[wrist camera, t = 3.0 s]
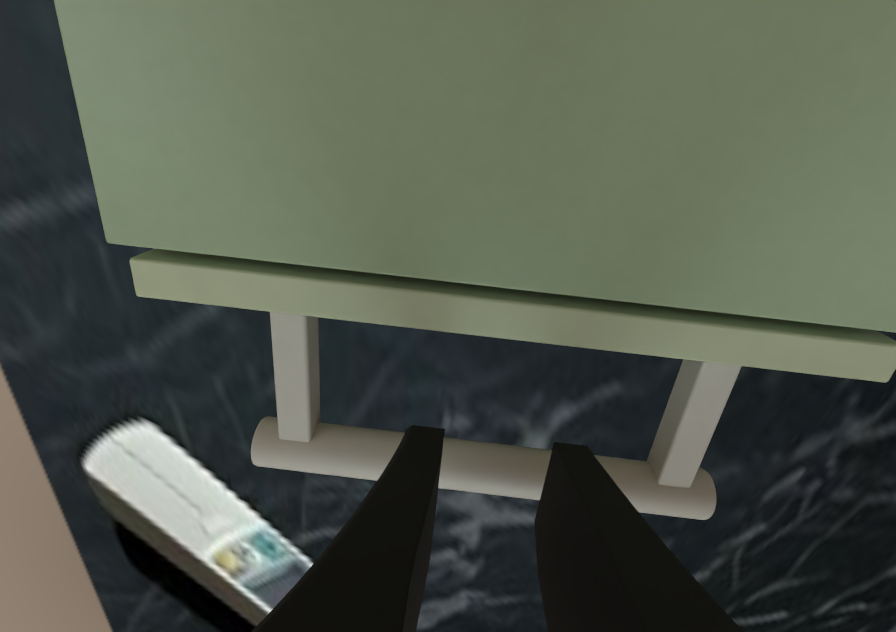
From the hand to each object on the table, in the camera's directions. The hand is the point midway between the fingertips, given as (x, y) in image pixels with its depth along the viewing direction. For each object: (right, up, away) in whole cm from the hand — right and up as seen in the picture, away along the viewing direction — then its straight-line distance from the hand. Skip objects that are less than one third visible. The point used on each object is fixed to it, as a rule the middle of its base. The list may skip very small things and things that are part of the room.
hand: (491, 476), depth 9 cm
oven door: (+1, +4, +9) cm, 10 cm away
